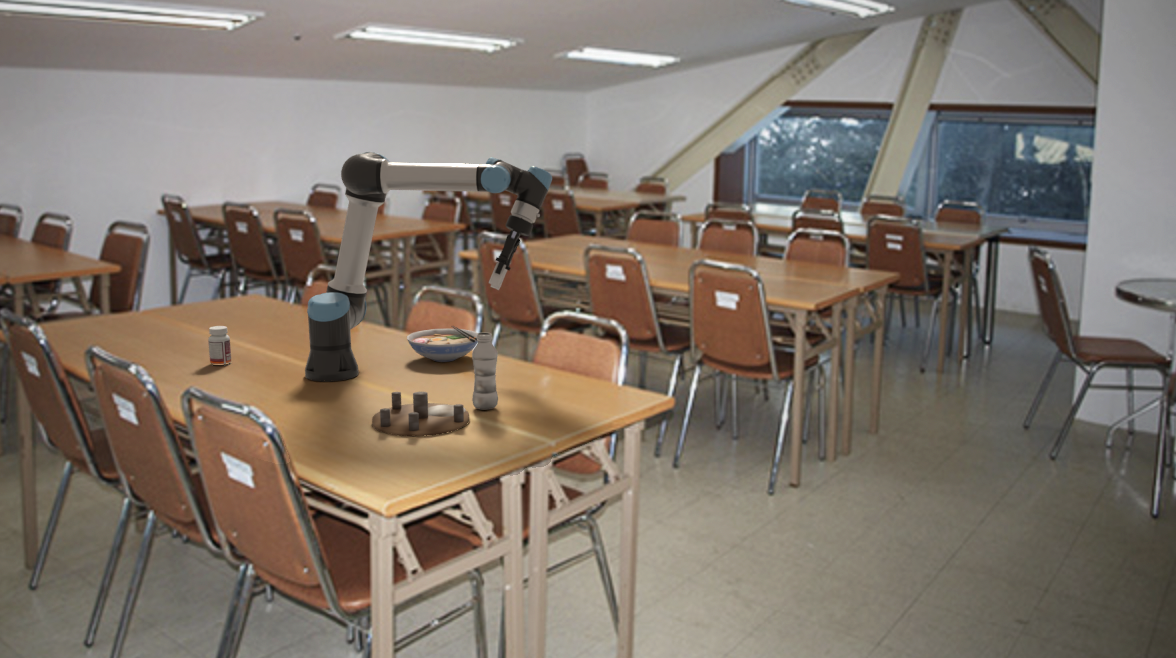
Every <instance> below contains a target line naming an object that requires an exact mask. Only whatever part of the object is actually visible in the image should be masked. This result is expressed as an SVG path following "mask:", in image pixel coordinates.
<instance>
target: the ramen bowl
mask: <svg viewBox="0 0 1176 658" xmlns="http://www.w3.org/2000/svg"><path fill="white" fill-rule="evenodd" d="M478 333H479V332H476V331H474V330H468V329H465V328H464V329H463V328H459V327H457V326H454V325H451V328H433V329H427V330H426V329H425V330H420V331H419V330H418V331H414V332H411V333H410V334H407V336H406V341H407V342H408V344H409V345H410V347H411V348H412V349H413V350H414V352H415V353H417V354H418V355H419V356H421V357H424V358H427V359H429V360H431V361H434V362H438V363H447V362H453V361H456V360H457V359H459V358H462V357H464V356H466V355H468V354H469V353H470V352H471V351H472V352H473V350H474V348H475V347H476V345H477V344H478V341H477V334H478Z"/></svg>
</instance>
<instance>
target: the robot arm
mask: <svg viewBox="0 0 1176 658" xmlns="http://www.w3.org/2000/svg"><path fill="white" fill-rule="evenodd" d="M340 177H341V178H340V179H341V181H342V184H343V186H344V187H345V193H344V195H345V197H346V199H347V200H348V203H347V204H348V205H347V210H346V217H345V222H344V226H343V230H342V237H341V242H340V248H339V252H338V258H337V262H336V266H335V272H334V277H333V278H332V279H331V280H330V281H328V282H327V287H326V292H323V293H321V294H316V295H314V296H312V297H310V298H309V300H308V302H307V311H306V312H307V319H308V320H307V321H308V322H307V323H308V333H309V335H308V336H309V354H308V357H307V361H306V364H305V368H304V374H305V375H304V377H305V379H307V380H309V381H314V382H339V381H346V380H350V379H353V378H355V377H357V376H358V375H359V373H360V372H359V365H358V363H357V360H356V357H355V354H354V351H353V350H352V335H351V330H353V329H354V328H355V327H357V326H359V324H361V322H362V321H363V319H365V317H366V313H367V307H368V306H367V301H366V299H367V298H366V297H367V293H368V289H367V288H366V286H365V285H364V281H365V276H366V273H367V271H366V270H367V267H368V261H369V257H370V250H371V247H372V242H373V241H372V240H373V236H374V231H375V230H374V229H375V225H376V220H377V215H378V210H379V208H380V207H381V206H382V205H384V204H385V202H386V198H387V194H388V193H389V192H390V191H424V192H425V191H430V192H431V191H432V192H435V191H438V192H481V193H484V192H485V193H487V192H488V193H490V194H501V193H502V192H504V191H506V192H509V193H510V194H513V195H516V196H517V197H516V200H515V201H514V204H513V205H512V207H511V210H510V213H511V214H510V215H509V216H508V218H507V220H506V223H505V228H506V229H508V230H509V234H507V235H506V238H505V241H504V244H503V248H502V250H501V252H500V254H499V255H498V257H497V256H496V258H495V261H496V264H495V266H494V269H493V271H492V274H490V275H491V276H490V278H489V281H488V284H490V288H493V289H495V290H497V291H500V288H501V287H502V284H503V282H504V279H505V277H506V274H507V273H508V271H511V267H510V265H511V262H512V259H513V257H514V254H515V253H516V252H517V250H518V247H519V245H520V244H521V239H520V237H521V236H525V237H529V236H530V235H531V233H532V230H533V227H534V225H533V224H534V223H535V222H536V220H537V218H540V216H541V214H540V210H541V208H542V206H543V204H544V202H545V200H546V198H547V197H546V196H547V195H548V192H549V190H550V187H551V184H552V181H553V176H552V174H551V173H550V172H549V171H547V170H545V169H543V168H541V167H538V166H534V165H532V166H530V167H529V168H528V169H527V170H525V169H521V168H519V167H518V166H515V165H513V164H510V163H508V162H505V161H503V160H502V159H499V158H496V157H492V156H491V157H489V158H488V159H487V160H486V162H485V164H484V163H483V164H473V163H472V164H471V163H470V164H469V163H466V164H465V163H429V162H428V163H427V162H426V163H423V162H421V163H420V162H417V163H416V162H410V163H409V162H391V161H389V159H388V158H387V157H386V156H385V155H383V154H380V153H378V152H374V151H366V152H363V153H358V154H355V155H351V156H350V157H348V158H347V159H346V161H344V162H343V164H342V166H341V170H340Z"/></svg>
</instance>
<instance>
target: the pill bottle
mask: <svg viewBox="0 0 1176 658" xmlns="http://www.w3.org/2000/svg"><path fill="white" fill-rule="evenodd" d="M208 329H209V330H208V331H209V333H208V334H209V335H210V336H209V337H208V339H207V341H208V352H209V353H208V354H209V363H212V364H226V363H230V362H231V363H232V353H231V352H232V351H231V350H232V349H231V348H232V347H231V337H230V335H228V327H227V326H224V325H216V326H215V325H214V326H210V327H209V328H208ZM231 363H230V364H231Z"/></svg>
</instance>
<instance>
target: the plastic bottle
mask: <svg viewBox="0 0 1176 658" xmlns="http://www.w3.org/2000/svg"><path fill="white" fill-rule="evenodd" d="M477 333H478V334H477V341H478V343H477V344H476V346H475V347H474V348H473V350H472V353H471V356H472V357H471V358H472V364H473V374H474V381H473V382H474V383H473V393H472V399H471V401H472V405H473V407H474V408H475V409H477V410H493V409H495V408H496V407H497V406H498V401H499V396H498V395H499V394H498V391H497V380H496V378H497V377H496V376H497V375H496V374H497V365H498V363H497V362H498V356H499V353H498V350H497V348H496V347H495V346H494V344H493V343H492V342H493V338H492V337H493V335H492V333H491V332H488V331H487V332H477Z"/></svg>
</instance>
